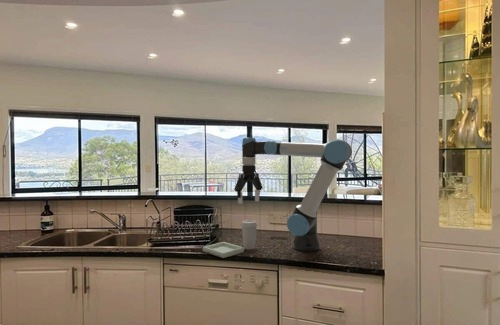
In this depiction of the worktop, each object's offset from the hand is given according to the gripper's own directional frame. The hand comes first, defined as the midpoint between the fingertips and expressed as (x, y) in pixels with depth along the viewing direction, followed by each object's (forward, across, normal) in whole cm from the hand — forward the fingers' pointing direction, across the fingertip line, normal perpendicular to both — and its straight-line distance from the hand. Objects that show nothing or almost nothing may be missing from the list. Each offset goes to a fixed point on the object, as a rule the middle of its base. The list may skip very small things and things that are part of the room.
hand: (248, 202), depth 183 cm
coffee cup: (+26, 0, 0) cm, 26 cm away
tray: (+26, +15, -5) cm, 30 cm away
